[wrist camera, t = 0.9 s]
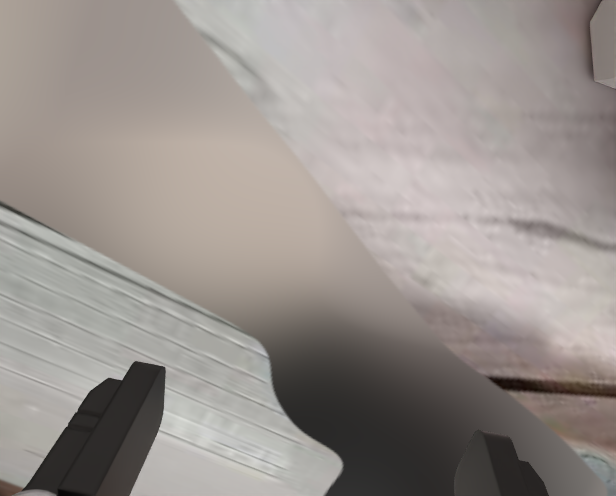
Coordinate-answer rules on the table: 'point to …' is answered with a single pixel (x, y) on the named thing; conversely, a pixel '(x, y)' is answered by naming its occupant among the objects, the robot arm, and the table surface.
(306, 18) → the table surface
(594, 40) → the flask
